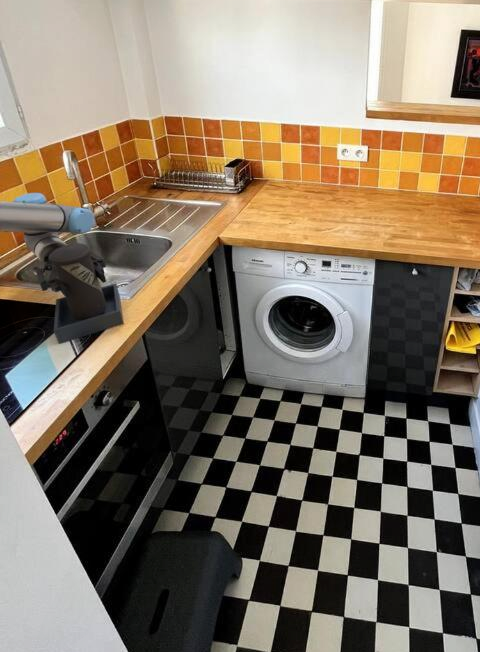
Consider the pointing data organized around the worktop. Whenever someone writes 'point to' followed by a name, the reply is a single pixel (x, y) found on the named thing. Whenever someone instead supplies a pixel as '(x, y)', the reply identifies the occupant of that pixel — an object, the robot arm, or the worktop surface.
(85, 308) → the container
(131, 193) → the worktop surface
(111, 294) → the tote
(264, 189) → the worktop surface
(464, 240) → the worktop surface
